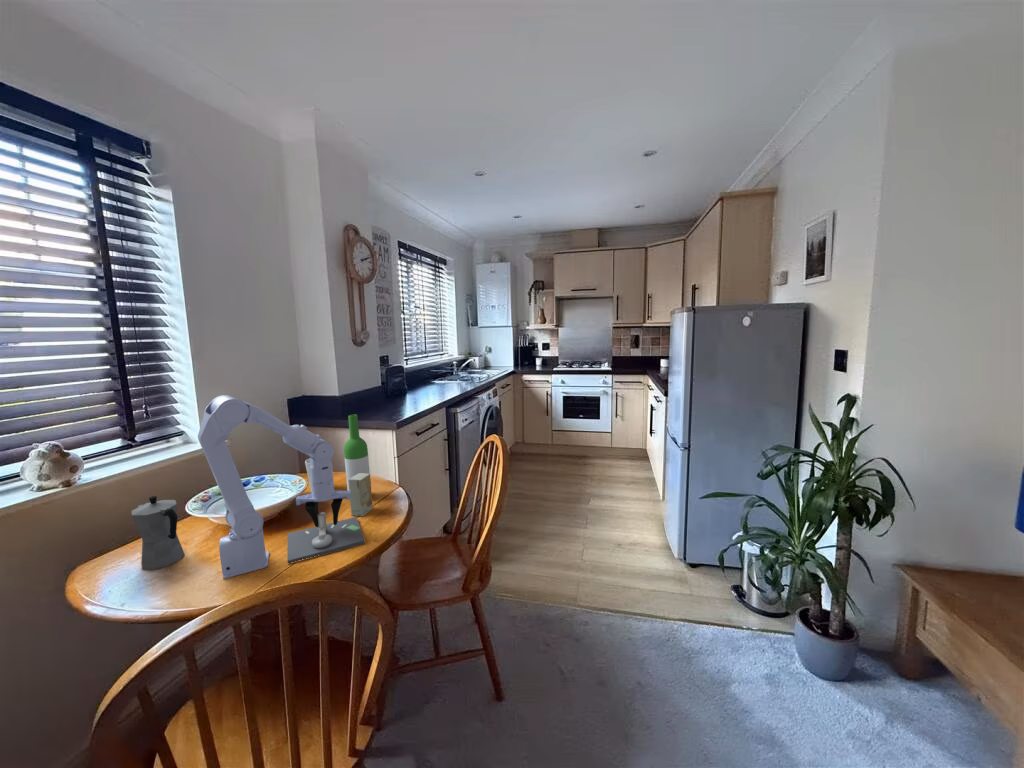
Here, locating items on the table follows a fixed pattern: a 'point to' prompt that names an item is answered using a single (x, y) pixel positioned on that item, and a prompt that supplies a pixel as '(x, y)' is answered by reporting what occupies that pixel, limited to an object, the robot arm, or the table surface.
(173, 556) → the coffeepot
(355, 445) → the wine bottle
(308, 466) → the cup
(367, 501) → the skincare box
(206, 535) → the table surface
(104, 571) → the table surface
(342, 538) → the gauge board
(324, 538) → the tuning lever
